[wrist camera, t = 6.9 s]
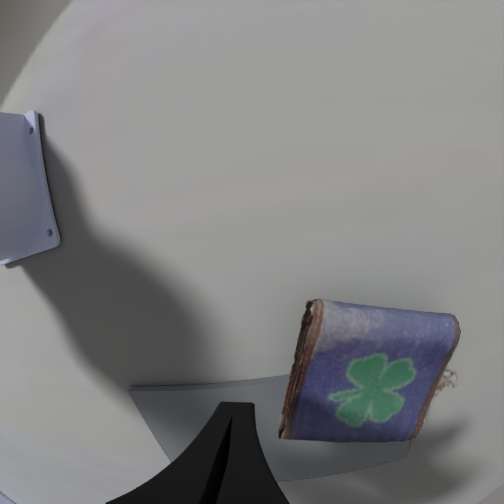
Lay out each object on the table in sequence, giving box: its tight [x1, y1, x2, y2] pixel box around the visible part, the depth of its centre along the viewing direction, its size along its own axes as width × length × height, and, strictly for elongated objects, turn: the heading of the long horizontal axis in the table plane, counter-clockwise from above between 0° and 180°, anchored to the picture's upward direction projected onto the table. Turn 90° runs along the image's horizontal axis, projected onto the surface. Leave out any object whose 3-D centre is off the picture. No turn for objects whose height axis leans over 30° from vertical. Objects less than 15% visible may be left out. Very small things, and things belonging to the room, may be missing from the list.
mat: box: [129, 374, 410, 482], centre depth 19 cm, size 12×20×1 cm, turn 102°
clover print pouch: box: [278, 299, 461, 443], centre depth 15 cm, size 9×3×11 cm
